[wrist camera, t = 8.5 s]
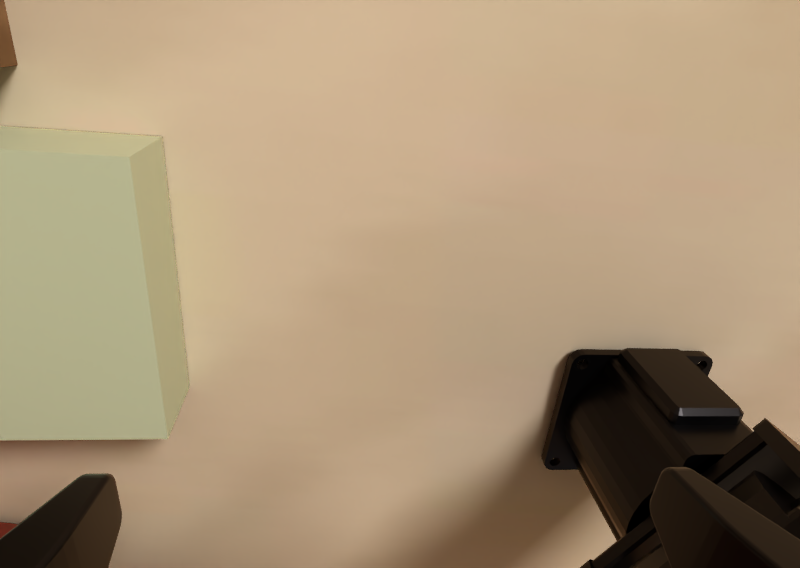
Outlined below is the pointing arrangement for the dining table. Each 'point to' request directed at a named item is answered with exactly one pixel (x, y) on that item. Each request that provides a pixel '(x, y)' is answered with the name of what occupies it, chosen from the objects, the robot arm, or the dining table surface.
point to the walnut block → (6, 40)
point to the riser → (87, 288)
